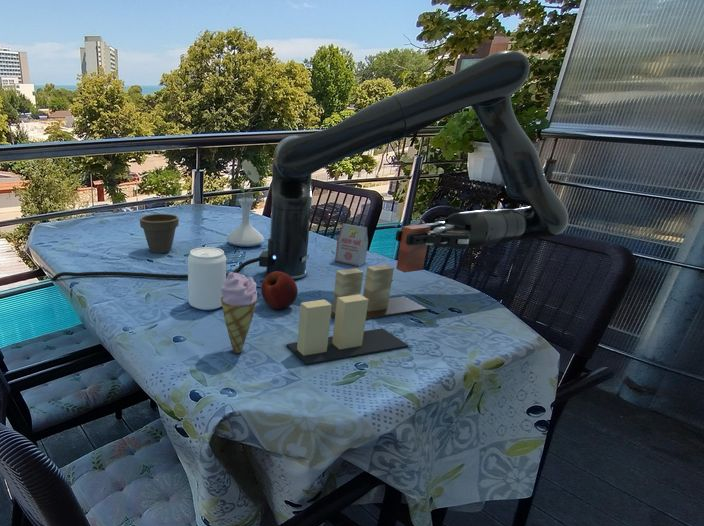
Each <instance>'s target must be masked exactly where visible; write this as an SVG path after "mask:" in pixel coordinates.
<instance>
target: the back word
mask: <svg viewBox="0 0 704 526" xmlns="http://www.w3.org/2000/svg"><path fill="white" fill-rule="evenodd" d="M394 270H395V268H394V267H393V266H390V265H388V264H378V265H370V266H366V271H365V280H364V287H363V292H362V291H361V290H362V284H363V277H364V271H363V270H361V269H358V268H357V267H356V268H347V269H339V270H336V272H335V281H334V288H333V289H334V290H333V297H332V309H331V318H333V319H335V314H336V305H337V297H344V296H351V295H358V294H360V295H361V293H363V294H362V296H364V297H366V298H367V299H369V300H368V307H367V314H366V320H373V319H378V318H379V319H380V318H384V317H392V316H397V315H404V314H410V313H416V312H423V311H427V310H428V307H426V306H424V305H421V304H420V303H417V302H416V301H414V300H412V299H410V298H408V297H407V296H404V295H401V296H393V297H390V294H391V288H392V282H393V275H394V272H395V271H394Z"/></svg>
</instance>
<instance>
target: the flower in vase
mask: <svg viewBox="0 0 704 526" xmlns="http://www.w3.org/2000/svg"><path fill="white" fill-rule="evenodd" d="M241 167H242V170H243V172H244V173H245V178H244V180H243V183H242V186H241V185H239V186H240V188H239V191H241V192H242V193H243V198H238V199H237V201H238V203H239V204H240V208H241V223H240V224H239V226H238V227H236V228H235V229H234V230H232V231H231V232H230V233H229V234H228V235H227V237H226V241H227V242H228V244H230V245H232V246H236V247H243V248H244V247H245V248H246V247H248V248H249V247H255V246H258V245H261V244H263V242H264V241H265V238H264V236H263V234H262V233H261V232H259V231H258V230H257V229H256V228H255V227H253V226H252V224H251V220H250V218H251V216H250V215H251V209H252V206H253V203H254V202H255V201H256V200H255V198H252V197H251V198H249V197H246V195H248V194H249V193H251V192H252V191H253V189H252V188H250V189H249V190H248V191H246V192H245V183H246V180H247V178H249V180H250V181H252V183H255V184H257V183H260V182H261V180H260V178H261V176H260V174H259V171H258V168H257V167H256V166H254V163H252V161H250V160H249V161H248V160H247V159H244V160H243V161H242V162H241Z"/></svg>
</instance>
